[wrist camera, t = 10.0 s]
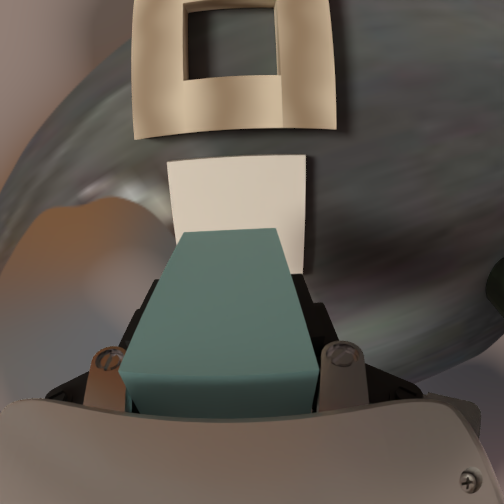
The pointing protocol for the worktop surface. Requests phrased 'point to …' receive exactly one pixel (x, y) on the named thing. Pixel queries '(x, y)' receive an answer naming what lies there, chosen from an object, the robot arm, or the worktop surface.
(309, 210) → the worktop surface
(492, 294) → the potion bottle
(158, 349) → the teal block
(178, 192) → the tile
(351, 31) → the worktop surface
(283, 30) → the pocket base
